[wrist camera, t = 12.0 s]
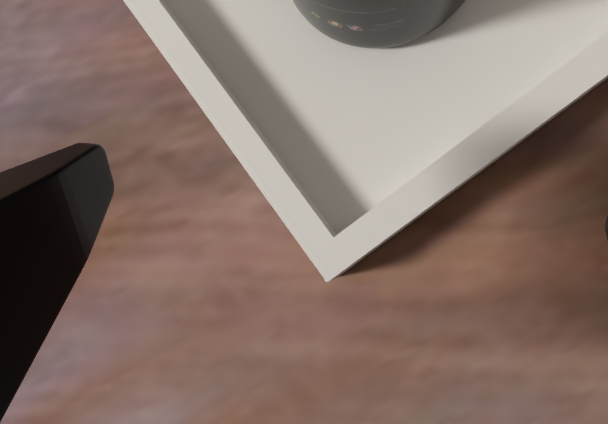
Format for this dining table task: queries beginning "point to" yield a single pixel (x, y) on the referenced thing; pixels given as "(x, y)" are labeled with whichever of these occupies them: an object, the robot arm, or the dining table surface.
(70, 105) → the dining table surface
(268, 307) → the dining table surface
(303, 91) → the tray
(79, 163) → the robot arm
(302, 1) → the supplement bottle
